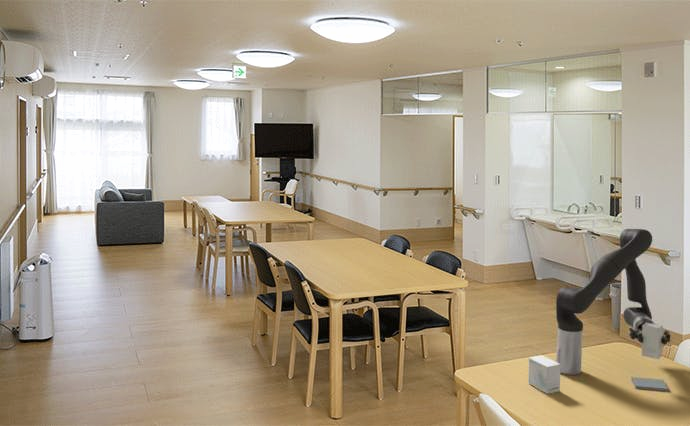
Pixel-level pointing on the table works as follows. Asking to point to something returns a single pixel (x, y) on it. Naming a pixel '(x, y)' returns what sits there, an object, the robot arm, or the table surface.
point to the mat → (649, 384)
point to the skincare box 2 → (652, 340)
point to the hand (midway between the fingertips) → (653, 341)
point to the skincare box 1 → (544, 374)
